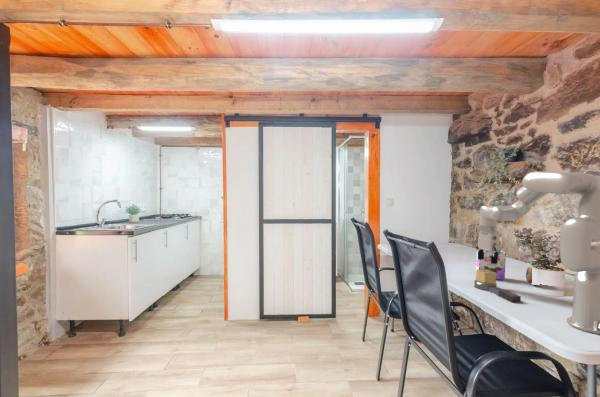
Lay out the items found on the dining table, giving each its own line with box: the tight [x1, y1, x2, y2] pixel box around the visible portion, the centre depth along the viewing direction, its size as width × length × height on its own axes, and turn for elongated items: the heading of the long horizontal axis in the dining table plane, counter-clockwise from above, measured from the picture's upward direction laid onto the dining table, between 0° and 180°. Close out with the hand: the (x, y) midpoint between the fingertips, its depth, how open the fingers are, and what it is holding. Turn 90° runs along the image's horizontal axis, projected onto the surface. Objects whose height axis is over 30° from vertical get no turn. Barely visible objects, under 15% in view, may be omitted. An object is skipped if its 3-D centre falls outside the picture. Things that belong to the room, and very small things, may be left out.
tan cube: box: [475, 269, 497, 284], centre depth 158 cm, size 6×6×6 cm
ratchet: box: [474, 279, 522, 303], centre depth 151 cm, size 25×10×7 cm, turn 6°
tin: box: [525, 267, 533, 285], centre depth 167 cm, size 15×3×8 cm, turn 160°
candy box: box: [474, 250, 507, 281], centre depth 177 cm, size 14×6×16 cm, turn 76°
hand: (487, 261), depth 158 cm, fingers open, 9 cm apart
